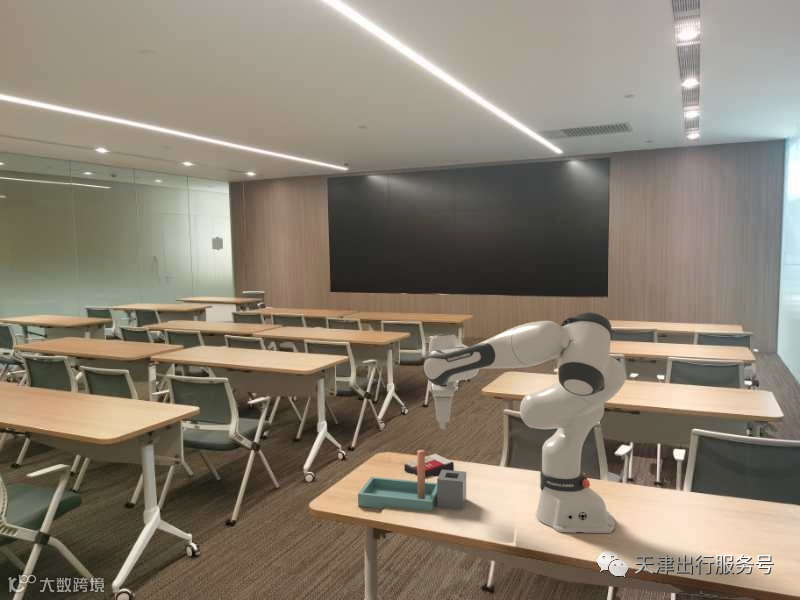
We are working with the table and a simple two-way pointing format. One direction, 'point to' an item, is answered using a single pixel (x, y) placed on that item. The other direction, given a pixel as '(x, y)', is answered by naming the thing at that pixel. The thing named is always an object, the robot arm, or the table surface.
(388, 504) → the tray
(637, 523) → the table surface
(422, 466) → the dowel pin
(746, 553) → the table surface
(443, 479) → the grey pencil holder
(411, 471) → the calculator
